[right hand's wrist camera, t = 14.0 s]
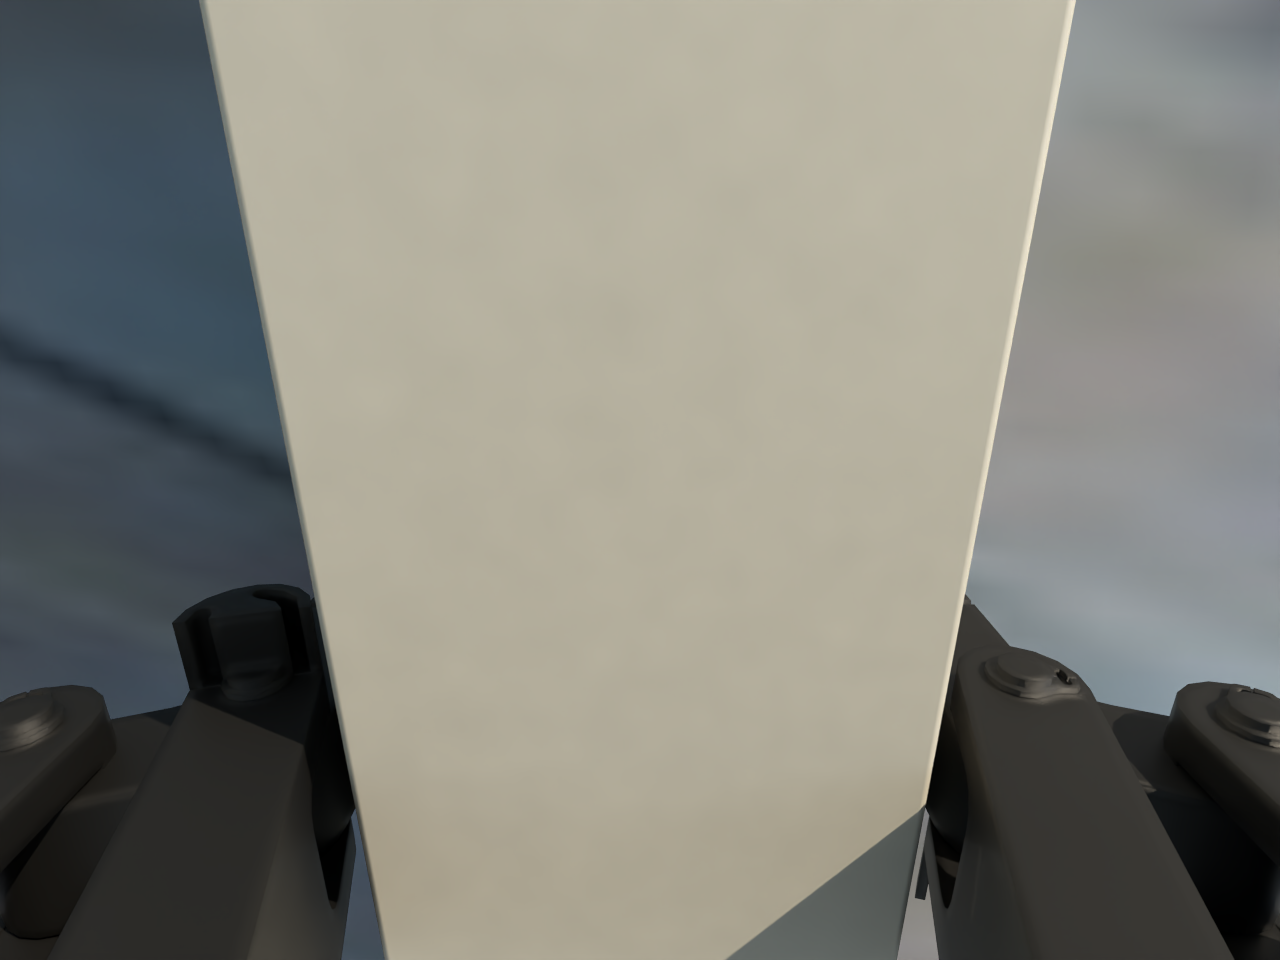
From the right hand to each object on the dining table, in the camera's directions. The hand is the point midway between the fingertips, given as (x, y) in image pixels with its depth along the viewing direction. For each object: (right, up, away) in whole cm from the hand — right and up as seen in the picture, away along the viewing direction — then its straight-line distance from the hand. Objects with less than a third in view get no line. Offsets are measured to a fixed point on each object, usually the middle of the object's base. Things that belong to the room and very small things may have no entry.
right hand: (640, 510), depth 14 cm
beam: (0, +10, -4) cm, 11 cm away
